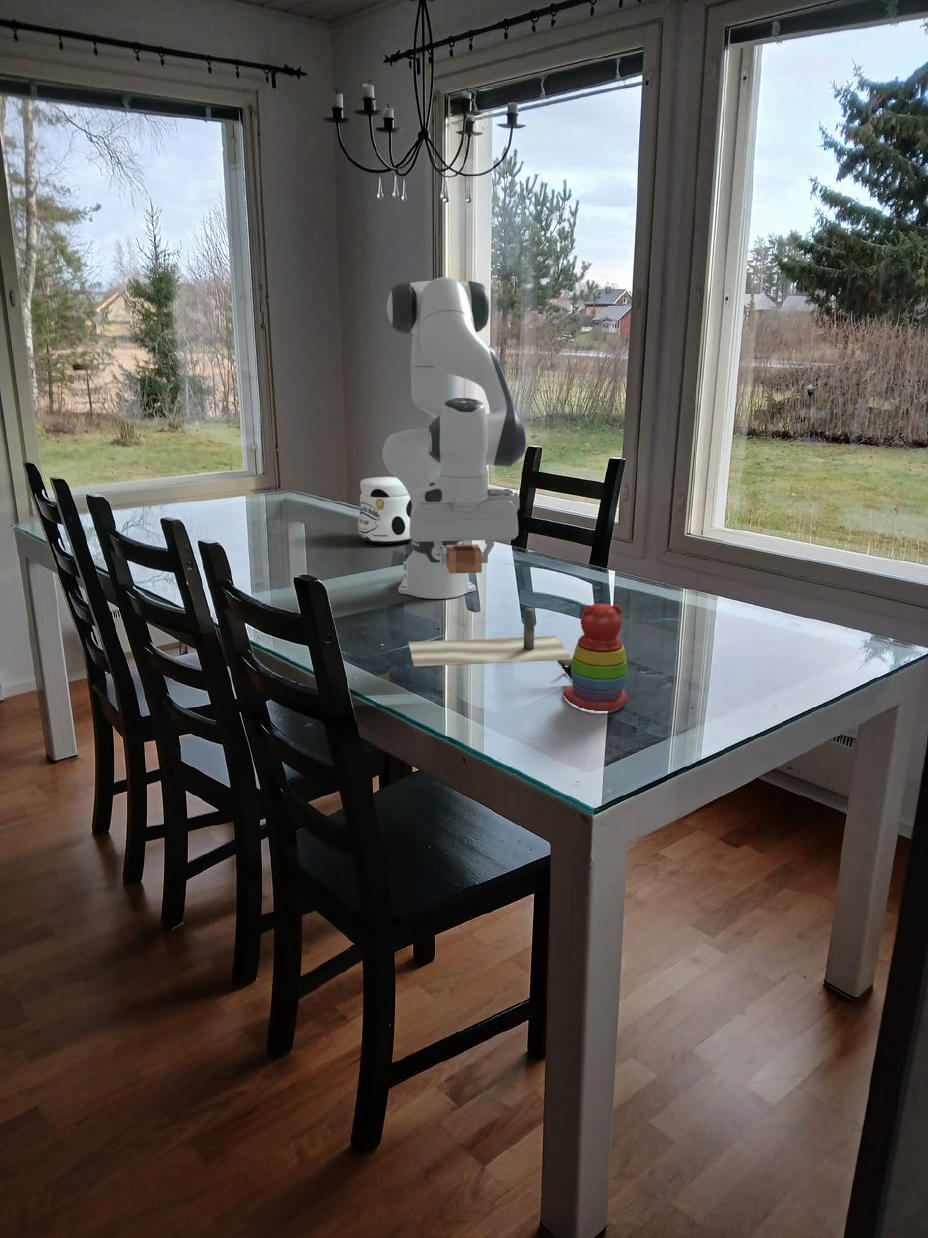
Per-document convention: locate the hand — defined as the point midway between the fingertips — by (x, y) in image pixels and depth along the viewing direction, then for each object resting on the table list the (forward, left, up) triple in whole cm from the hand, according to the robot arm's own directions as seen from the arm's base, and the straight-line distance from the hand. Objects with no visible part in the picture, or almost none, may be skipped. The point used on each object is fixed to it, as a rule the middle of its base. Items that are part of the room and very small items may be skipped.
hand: (463, 563), depth 177 cm
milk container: (-105, -9, -19) cm, 107 cm away
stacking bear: (+25, +20, -19) cm, 37 cm away
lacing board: (0, +5, -19) cm, 20 cm away
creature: (+16, +19, -19) cm, 32 cm away
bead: (0, 0, -1) cm, 1 cm away
